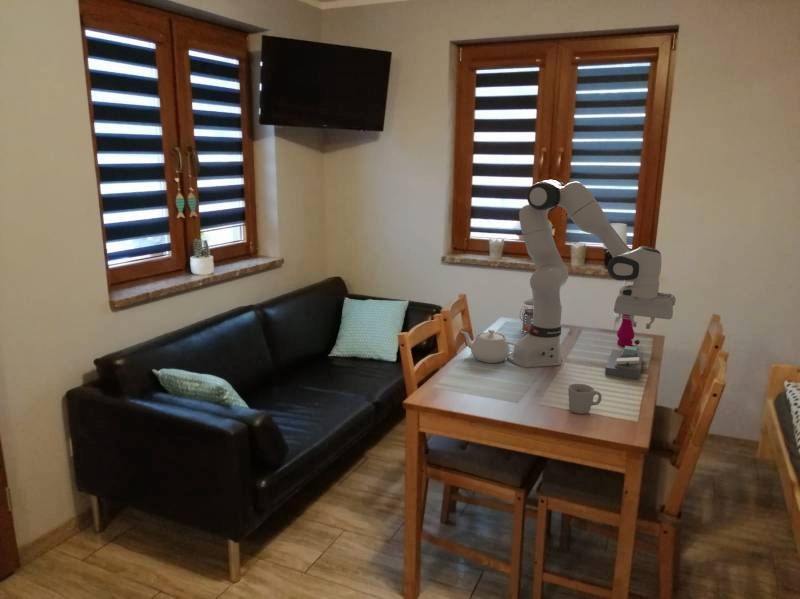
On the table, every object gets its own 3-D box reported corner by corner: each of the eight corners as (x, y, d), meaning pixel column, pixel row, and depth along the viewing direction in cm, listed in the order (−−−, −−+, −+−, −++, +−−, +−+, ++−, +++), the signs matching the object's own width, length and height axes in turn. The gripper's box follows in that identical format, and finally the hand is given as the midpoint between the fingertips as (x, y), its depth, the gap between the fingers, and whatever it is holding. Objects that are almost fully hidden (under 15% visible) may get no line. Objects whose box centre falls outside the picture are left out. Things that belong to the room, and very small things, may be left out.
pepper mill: (612, 343, 266) (616, 299, 261) (624, 341, 268) (629, 298, 264) (624, 347, 259) (629, 303, 254) (637, 345, 262) (641, 301, 257)
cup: (595, 406, 198) (597, 383, 196) (604, 416, 191) (606, 392, 189) (563, 406, 198) (565, 383, 196) (570, 416, 190) (573, 392, 188)
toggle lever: (633, 354, 239) (640, 341, 237) (628, 352, 240) (635, 339, 238) (633, 353, 241) (640, 340, 239) (629, 350, 241) (635, 338, 239)
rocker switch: (639, 365, 222) (638, 360, 222) (616, 365, 226) (616, 361, 226) (639, 361, 226) (639, 356, 226) (617, 362, 230) (617, 358, 230)
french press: (545, 331, 281) (549, 280, 275) (527, 335, 275) (530, 282, 270) (531, 326, 289) (534, 276, 283) (513, 329, 284) (516, 278, 278)
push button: (635, 357, 230) (636, 350, 229) (623, 356, 232) (624, 348, 231) (636, 354, 234) (637, 347, 233) (624, 352, 236) (625, 345, 235)
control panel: (638, 380, 222) (640, 364, 220) (604, 374, 227) (606, 359, 225) (642, 360, 243) (644, 346, 242) (611, 356, 248) (613, 342, 246)
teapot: (523, 359, 244) (525, 330, 241) (510, 369, 230) (512, 339, 228) (467, 348, 256) (468, 321, 253) (452, 358, 243) (453, 329, 240)
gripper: (676, 292, 217) (671, 329, 220) (617, 286, 225) (613, 322, 228) (676, 296, 211) (671, 333, 214) (615, 290, 219) (611, 326, 223)
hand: (641, 327), depth 221 cm, fingers open, 3 cm apart
